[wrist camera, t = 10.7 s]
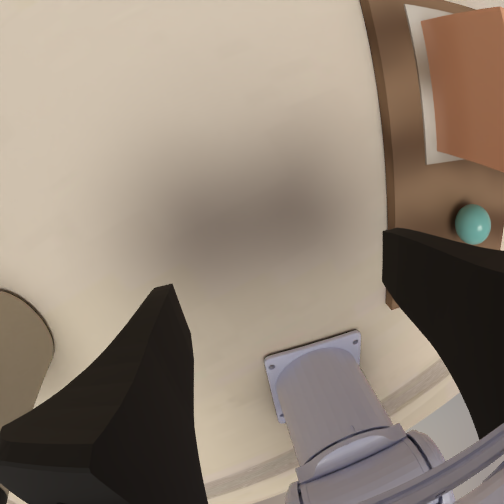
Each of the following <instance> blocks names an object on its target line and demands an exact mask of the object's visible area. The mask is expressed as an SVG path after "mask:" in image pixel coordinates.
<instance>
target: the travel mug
mask: <svg viewBox="0 0 504 504" xmlns="http://www.w3.org/2000/svg"><path fill="white" fill-rule="evenodd" d="M53 353H54V347H53V341H52V338H51V335H50V333H49V331H48V329H47V327H46V325H45V324H44V322H43V321H42V319H41V318H40V317H39V316H38V315H37V313H36V312H35V311H34V310H33V309H32V308H31V307H30V306H28V305H27V304H26V303H25V302H23V301H22V300H20V299H19V298H17V297H15V296H13V295H11V294H9V293H6V292H3V291H0V431H1V428H2V426H4V425H6V424H8V423H10V422H12V421H13V420H15V419H17V418H19V417H20V416H22V415H24V414H26V413H28V412H29V411H31V410H33V407H34V404H35V401H36V398H37V396H38V393H39V390H40V388H41V385H42V383H43V380H44V377H45V375H46V372H47V370H48V367H49V365H50V363H51V360H52V358H53ZM8 494H9V490H8V489H7V488H5V487H4V486H3V485H2V484H0V504H6V503H7V498H8Z"/></svg>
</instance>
